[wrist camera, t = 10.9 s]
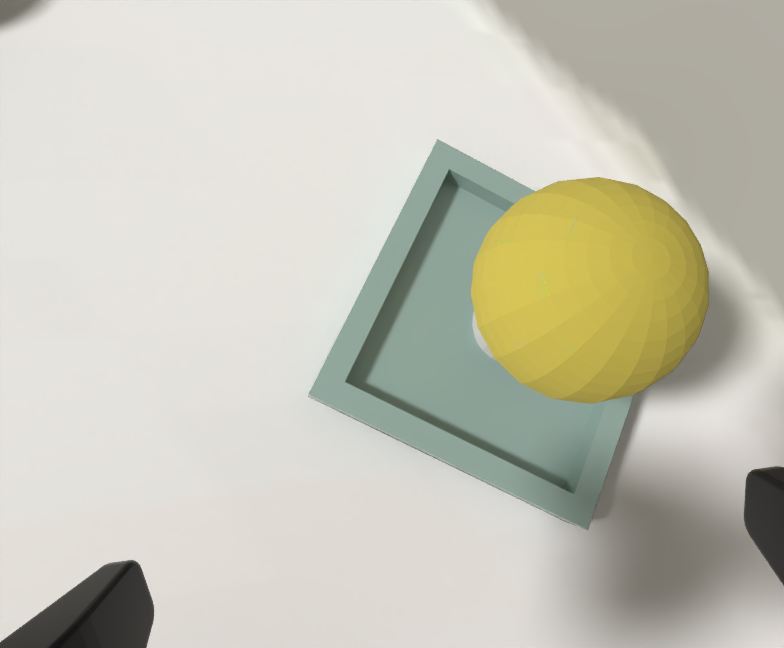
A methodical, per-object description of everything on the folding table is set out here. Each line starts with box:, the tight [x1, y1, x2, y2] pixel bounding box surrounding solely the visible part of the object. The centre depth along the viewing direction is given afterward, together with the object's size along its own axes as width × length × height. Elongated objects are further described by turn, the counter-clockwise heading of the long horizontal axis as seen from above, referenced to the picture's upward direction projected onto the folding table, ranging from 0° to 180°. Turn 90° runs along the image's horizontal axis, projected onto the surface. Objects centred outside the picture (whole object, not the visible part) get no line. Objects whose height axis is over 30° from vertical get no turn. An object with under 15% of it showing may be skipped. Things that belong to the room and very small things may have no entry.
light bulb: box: [471, 177, 709, 404], centre depth 18 cm, size 7×7×10 cm
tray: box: [308, 139, 634, 530], centre depth 22 cm, size 12×12×2 cm
